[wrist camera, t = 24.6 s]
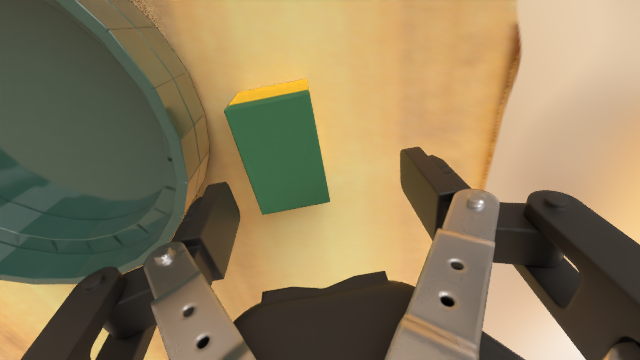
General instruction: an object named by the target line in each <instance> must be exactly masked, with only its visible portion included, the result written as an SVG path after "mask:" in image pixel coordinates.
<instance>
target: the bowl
mask: <svg viewBox="0 0 640 360" xmlns="http://www.w3.org/2000/svg"><path fill="white" fill-rule="evenodd" d="M209 151H210V150H209V141H208V134H207V126H206V119H205V114H204V110H203V108H202V105H201V103H200V100H199V98H198V95H197V93H196V91H195V88H194V86H193V83H192V81H191V78H190V76H189V73H188V72H187V70H186V68H185V67H184V65H183V64H182V62H181V61H180V60H179V58H178V57H177V55H176V54H175V52H174V51H173V49H172V48H171V47H170V45H169V44H168V42H167V41H166V39H165V38H164V36H163V35H162V34H161V32H160V31H159V29H158V28H157V27H156V26H155V25H154V24H153V23H152V22H151V21H150V20H149V19H148V18H147V17H146V16H145V15H144V14H143V13H142V12H141V11H140V10H139V9H138V8H137V7H136V6H135V5H134V4H133V3H132V2H131V1H130V0H0V280H4V281H12V282H19V283H27V284H36V285H38V284H78V283H79V282H80V281H82V280H83V279H84V278H85V277H87V276H88V275H90V274H91V273H93V272H95V271H97V270H99V269H102V268H105V267H116V268H117V269H118V270H119V271H120V272H121V273H122V274H123V273H125V272H128V271H130V270H132V269H135V268H137V267H139V266H141V265H144V262H145V260H146V258H147V257H148V256H149V255H150V254H151V253H152V252H153V251H154V250H156V249H157V248H159V247H160V246H162V245H164V244H167V243H169V242H170V240H171V239H172V237H173V235H174V233H175V231H176V230H177V228H178V226H179V224H180V223H181V221H182V219H183V217H184V216H185V214H186V212H187V210H188V208H189V207H190V205H191V203H192V201H193V199H194V198H195V196H196V194H197V192H198V190H199V189H200V187H201V185H202V183H203V181H204V179H205V173H206V168H207V162H208V156H209Z"/></svg>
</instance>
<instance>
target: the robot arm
mask: <svg viewBox="0 0 640 360" xmlns="http://www.w3.org/2000/svg"><path fill="white" fill-rule="evenodd" d="M400 173H401V186H402V189H403V192H404V193H405V195H406V197H407V198H408V200H409V202H410V203H411V205H412V207H413V209H414V210H415V212H416V214H417V215H418V217H419V219H420V220H421V222H422V224H423V225H424V227H425V229H426V230H427V232H428V234H429V235H430V237H431V239H432V240H433V242H432V245H431V248H430V250H429V253H428V255H427V258H426V261H425V263H424V266H423V269H422V271H421V274H420V277H419V279H418V282H417V284H416V287H414V286H412V285H409V284H406V283H402V282H398V281H390V280H388V278H387V276H386V273H385V271H381V272H375V273H369V274H363V275H357V276H353V277H351V278H349V279H346V280H344V281H341V282H339V283H337V284H334V285H332V286H330V287H327V288H323V289H320V288H304V287H288V288H282V289H276V290H270V291H265V292H263V293H262V301H261V303H259V304H257V305H255V306H253V307H251V308H250V309H248V310H247V311H245V312H244V313H243V314H242V315H240V316H239V317H238V318H237V319H236V320H235V321H234V322H232V320H231V319H230V317H229V315H228V314H227V312H226V311H225V309H224V307H223V306H222V304H221V303H220V301H219V299H218V298H217V296H216V295H215V293H214V291H213V290H212V288H211V285H212V281H215V280H220V279H224V277H225V273H226V270H227V266H228V262H229V259H230V255H231V251H232V248H233V244H234V240H235V237H236V233H237V230H238V226H239V222H240V212H239V208H238V206H237V204H236V201H235V199H234V197H233V194H232V192H231V190H230V187H229V185H228V184H227V183H226V182H222V183H217V184H211V185H208V187H207V188H206V190H205V192H204V194H203V196H202V197H199V198H198V199H197V200H196V201H195V202H194V203H193V204H192V205H191V206H190V208H189V210H188V212H187V215H185V217H184V219H183V222H181V224H180V226H179V228H178V230H177V231H176V233H175V235H174V237H173V239H172V241H171V242H170V243H167V244H164V245H162V246H160V247H159V248H157V249H156V250H154V251H153V252H152V253H151V254H150V255H149V256H148V257H147V258H146V260H145V262H144V265H143V266H142V267H140V268H137V269H135V270H132V271H130V272H127V273H125V274H123V275H122V273H121V272H120V271H119V270H118V269H117V268H116V267H105V268H102V269H99V270H97V271H95V272H93V273H91V274H90V275H88V276H87V277H85V278H84V279H83V280H82V281H80V282H79V283H78V284H77V285H76V287H75V288H74V289H73V290H72V292H71V293H70V294H69V296H68V297H67V298H66V300H65V301H64V302H63V304H62V305H61V306H60V308H59V309H58V310H57V312H56V313H55V314H54V316H53V317H52V318H51V320H50V321H49V322H48V324H47V325H46V326H45V328H44V329H43V330H42V332H41V333H40V334H39V336H38V337H37V338H36V340H35V341H34V342H33V344H32V345H31V346H30V348H29V349H28V350H27V352H26V353H25V354H24V356H23V357H22V358H21V360H91V358H90V353H91V348H92V346H93V344H94V342H95V340H96V339H97V337H98V335H99V333H100V331H101V330H102V328H104V329H105V330H106V331H108V332H109V335H108V337H107V339H106V340H105V342H104V344H103V346H102V348H101V350H100V352H99V354H98V356H97V357H96V359H95V360H143V359H144V356H145V354H146V351H147V349H148V346H149V344H150V341H151V339H152V336H153V334H154V331H155V329H156V326H157V325H158V328H159V331H160V334H161V337H162V340H163V343H164V346H165V349H166V352H167V355H168V358H169V360H525V359H523V358H522V357H520V356H519V355H517V354H516V353H515V352H513V351H512V350H510V349H509V348H507V347H506V346H504V345H503V344H501V343H500V342H498V341H497V340H495V339H494V338H492V337H491V336H489V335H488V334H486V333H485V332H483V331H482V328H483V321H484V313H485V308H486V301H487V295H488V288H489V282H490V275H491V269H492V262H494V263H505V264H513V265H514V267H515V268H516V269H517V271H518V272H519V273H520V275H521V276H522V277H523V278H524V280H525V281H526V282H527V283H528V285H529V286H530V288H531V289H532V290H533V291H534V293H535V294H536V295H537V297H538V298H539V299H540V300H541V302H542V303H543V304H544V306H545V307H546V308H547V310H548V311H549V312H550V314H551V315H552V316H553V317H554V318H555V320H556V321H557V323H558V324H559V325H560V326H561V328H562V329H563V330H564V331H565V333H566V334H567V336H568V337H569V338H570V339H571V341H572V342H573V343H574V345H575V346H576V347H577V349H578V350H579V351H580V352H581V354H582V355H583V356H584V358H585V359H586V360H640V245H639V244H638V243H636V242H635V241H634V240H632V239H631V238H630V237H628V236H627V235H625V234H624V233H623V232H621V231H620V230H619V229H617V228H616V227H615V226H613V225H612V224H610V223H609V222H608V221H606V220H605V219H604V218H602V217H601V216H599V215H598V214H596V213H595V212H594V211H593V210H591V209H590V208H588V207H587V206H586V205H584V204H583V203H582V202H580V201H579V200H577V199H576V198H574V197H572V196H570V195H567V194H564V193H561V192H556V191H548V190H543V191H536V192H533V193H531V194H530V195H529V196H528V199H527V202H526V203H503V202H499V200H498V199H497V198H496V197H495V196H494V195H492V194H490V193H488V192H486V191H483V190H478V189H471V188H470V187H469V186H468V185H467V184H466V183H465V182H464V181H463V180H462V179H461V178H460V177H459V176H458V175H457V174H456V173H454V171H453V170H452V168H451V167H449V165H448V164H447V163H446V162H445V161H444V160H442V159H440V158H438V157H436V156H434V155H430V156H427V155H426V153H425V152H424V151H423V150H422V149H421V148H420V147H414V148H408V149H403V150H401V153H400ZM564 255H565V256H566V257H567V258H568V259H569V260H570V261H571V262H572V263H573V264H574V265H575V266H576V268H577V269H578V271H579V272H578V271H577V270H576V269H575V268H574V267H573V266H572V265H571V264H570V263H569V262H568V261H567V260H566V259H565V258H564Z"/></svg>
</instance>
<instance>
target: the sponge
mask: <svg viewBox="0 0 640 360" xmlns="http://www.w3.org/2000/svg"><path fill="white" fill-rule="evenodd" d="M224 113H225V115H226V118H227V121H228V123H229V126H230V129H231V131H232V134H233V137H234V139H235V142H236V145H237V148H238V150H239V153H240V156H241V158H242V161H243V164H244V166H245V169H246V172H247V175H248V177H249V180H250V183H251V185H252V188H253V191H254V193H255V196H256V199H257V201H258V204H259V207H260V210H261V212H262V214H263V215H264V214H270V213H275V212H280V211H285V210H291V209H296V208H301V207H306V206H311V205H317V204H322V203H327V202H330V198H329V193H328V188H327V182H326V177H325V172H324V167H323V161H322V156H321V151H320V146H319V140H318V135H317V130H316V125H315V120H314V114H313V109H312V104H311V99H310V93H309V89H308V84H307V80H306V79H303V80H298V81H293V82H288V83H283V84H278V85H273V86H268V87H263V88H258V89H253V90H248V91H243V92H238V93H237V95H236V96H235V97H234V99H233V100H232V101H231V103H230V104H229V105H228V106H227V108H226V109H225V110H224Z"/></svg>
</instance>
